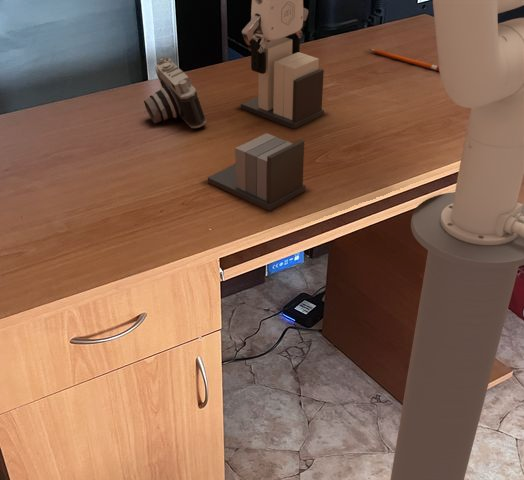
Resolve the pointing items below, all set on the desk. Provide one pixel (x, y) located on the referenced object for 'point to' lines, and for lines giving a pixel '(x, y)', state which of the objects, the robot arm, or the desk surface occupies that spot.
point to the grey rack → (264, 172)
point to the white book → (271, 70)
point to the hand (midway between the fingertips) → (275, 64)
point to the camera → (174, 96)
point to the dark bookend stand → (293, 92)
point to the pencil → (405, 59)
